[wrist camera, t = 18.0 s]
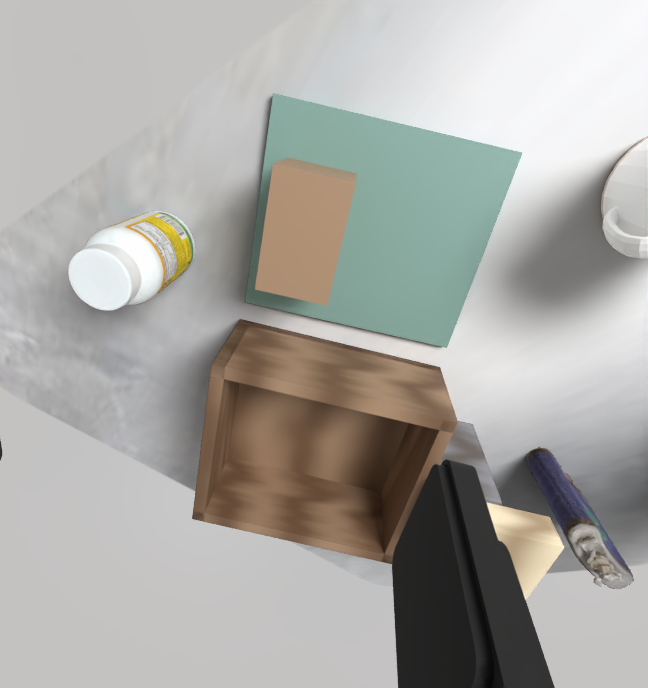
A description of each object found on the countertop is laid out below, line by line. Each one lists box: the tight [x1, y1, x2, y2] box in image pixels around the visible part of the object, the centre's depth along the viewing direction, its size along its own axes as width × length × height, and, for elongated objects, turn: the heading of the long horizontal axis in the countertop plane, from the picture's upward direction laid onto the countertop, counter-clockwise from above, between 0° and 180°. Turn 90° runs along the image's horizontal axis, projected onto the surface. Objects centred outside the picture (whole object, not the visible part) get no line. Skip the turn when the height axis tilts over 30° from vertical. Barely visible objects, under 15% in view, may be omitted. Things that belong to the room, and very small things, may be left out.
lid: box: [245, 93, 522, 348], centre depth 30 cm, size 17×15×7 cm
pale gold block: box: [486, 502, 564, 600], centre depth 32 cm, size 5×6×3 cm
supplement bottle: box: [68, 211, 195, 311], centre depth 31 cm, size 5×5×10 cm
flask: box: [526, 447, 634, 589], centre depth 38 cm, size 9×3×11 cm, turn 39°
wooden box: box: [192, 319, 502, 564], centre depth 37 cm, size 23×16×10 cm
